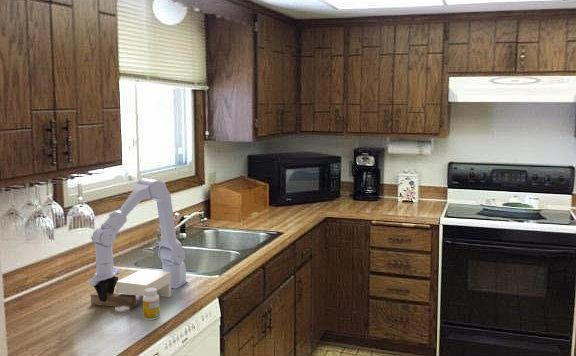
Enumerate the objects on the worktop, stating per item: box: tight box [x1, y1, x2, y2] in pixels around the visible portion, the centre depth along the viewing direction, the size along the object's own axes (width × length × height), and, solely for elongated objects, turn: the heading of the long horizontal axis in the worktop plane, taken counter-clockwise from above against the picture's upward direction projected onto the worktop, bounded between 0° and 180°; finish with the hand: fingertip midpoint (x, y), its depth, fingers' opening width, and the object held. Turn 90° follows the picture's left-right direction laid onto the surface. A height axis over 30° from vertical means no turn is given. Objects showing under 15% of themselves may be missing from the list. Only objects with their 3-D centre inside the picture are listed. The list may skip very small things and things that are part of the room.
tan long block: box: [90, 291, 137, 309], centre depth 204 cm, size 3×16×4 cm, turn 76°
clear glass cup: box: [114, 303, 131, 314], centre depth 199 cm, size 5×5×2 cm
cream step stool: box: [115, 268, 172, 298], centre depth 208 cm, size 16×12×9 cm
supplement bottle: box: [142, 288, 161, 321], centre depth 192 cm, size 5×5×10 cm
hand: (106, 299), depth 205 cm, fingers closed on tan long block, 3 cm apart
